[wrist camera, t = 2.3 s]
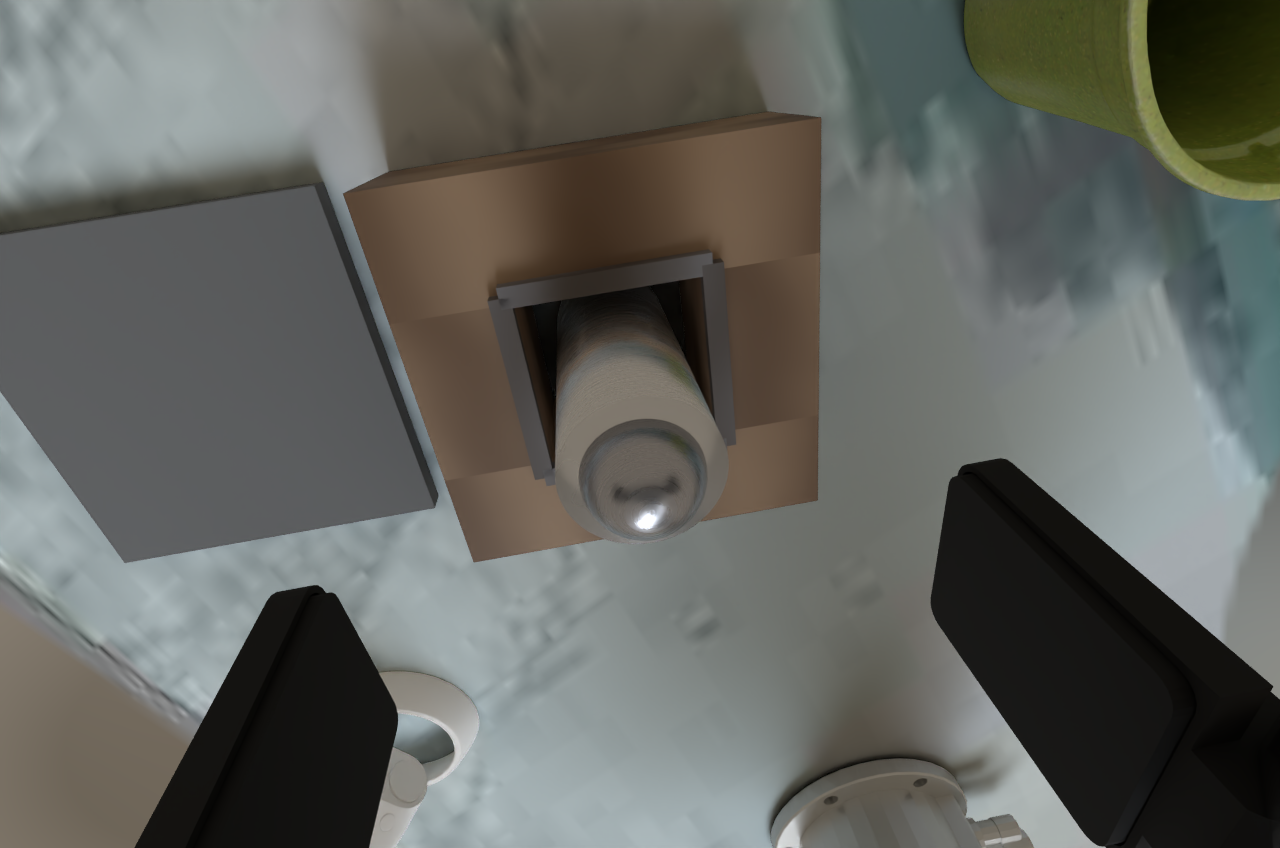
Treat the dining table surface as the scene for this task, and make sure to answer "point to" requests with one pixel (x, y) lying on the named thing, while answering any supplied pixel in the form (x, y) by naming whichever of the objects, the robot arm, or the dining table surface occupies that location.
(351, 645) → the robot arm
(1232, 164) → the plant pot
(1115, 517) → the dining table surface
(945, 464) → the dining table surface
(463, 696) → the white ring with handle
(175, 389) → the mat
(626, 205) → the block
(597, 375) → the steel peg
